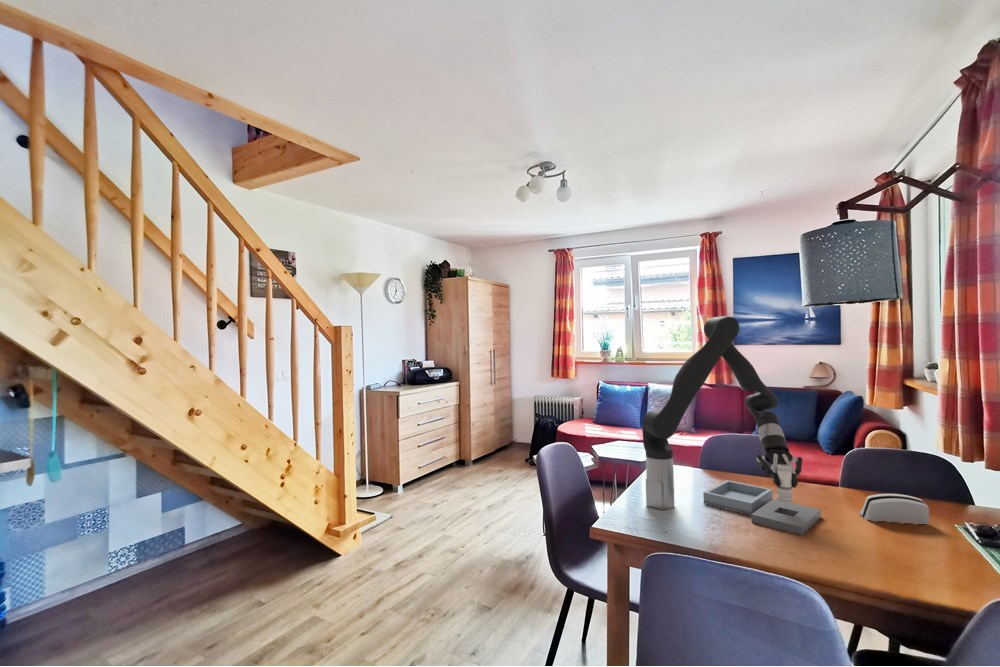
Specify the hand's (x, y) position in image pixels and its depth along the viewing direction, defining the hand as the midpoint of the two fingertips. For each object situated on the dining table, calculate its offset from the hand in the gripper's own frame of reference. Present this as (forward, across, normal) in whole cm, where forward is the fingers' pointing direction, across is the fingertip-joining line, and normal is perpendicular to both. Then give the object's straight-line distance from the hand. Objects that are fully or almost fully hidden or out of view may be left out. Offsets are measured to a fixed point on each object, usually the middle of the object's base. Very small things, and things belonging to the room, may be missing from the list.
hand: (786, 485), depth 146 cm
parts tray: (-4, -10, +20) cm, 23 cm away
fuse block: (+7, 0, +10) cm, 12 cm away
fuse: (+2, 0, +5) cm, 5 cm away
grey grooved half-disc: (+4, +33, +12) cm, 35 cm away
